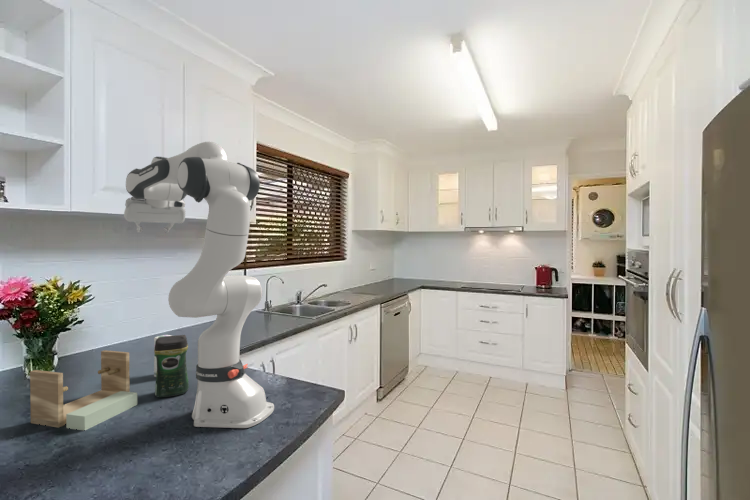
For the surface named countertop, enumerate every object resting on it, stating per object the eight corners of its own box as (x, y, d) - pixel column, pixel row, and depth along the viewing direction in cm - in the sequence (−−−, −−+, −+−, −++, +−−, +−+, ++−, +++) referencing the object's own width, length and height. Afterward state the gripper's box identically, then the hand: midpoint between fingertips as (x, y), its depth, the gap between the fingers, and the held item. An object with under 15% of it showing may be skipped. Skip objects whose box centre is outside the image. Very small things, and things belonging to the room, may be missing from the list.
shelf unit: (105, 393, 120) (104, 350, 120) (129, 396, 117) (129, 352, 117) (30, 423, 100) (30, 371, 100) (58, 427, 97) (57, 374, 97)
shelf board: (120, 404, 113) (120, 391, 112) (137, 405, 111) (137, 392, 111) (66, 429, 97) (66, 414, 97) (84, 431, 96) (84, 416, 96)
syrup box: (153, 376, 135) (152, 337, 135) (168, 371, 140) (168, 333, 140) (162, 379, 132) (162, 339, 132) (178, 374, 138) (178, 335, 137)
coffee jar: (189, 386, 126) (189, 332, 125) (187, 395, 118) (187, 337, 118) (156, 391, 122) (156, 334, 121) (152, 400, 114) (152, 340, 114)
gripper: (129, 199, 129) (124, 235, 133) (189, 204, 145) (183, 235, 149) (123, 192, 133) (119, 227, 137) (183, 197, 148) (177, 228, 153)
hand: (153, 231), depth 143 cm, fingers open, 8 cm apart
